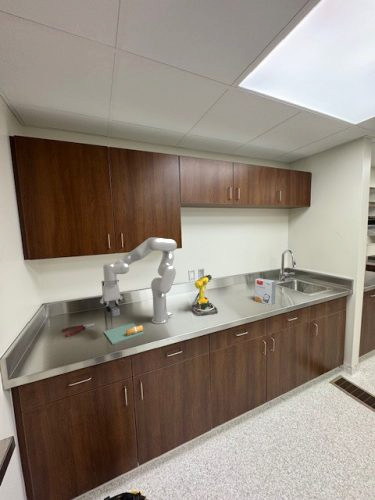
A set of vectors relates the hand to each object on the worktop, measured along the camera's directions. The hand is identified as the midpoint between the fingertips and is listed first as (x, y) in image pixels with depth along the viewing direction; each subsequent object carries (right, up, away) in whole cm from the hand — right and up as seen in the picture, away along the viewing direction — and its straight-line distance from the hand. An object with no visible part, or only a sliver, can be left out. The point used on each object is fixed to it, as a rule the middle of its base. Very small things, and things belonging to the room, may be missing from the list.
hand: (112, 310), depth 135 cm
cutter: (+1, -1, -2) cm, 2 cm away
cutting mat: (+7, -15, +1) cm, 17 cm away
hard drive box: (+116, -7, +49) cm, 126 cm away
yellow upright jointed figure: (+63, -10, +35) cm, 72 cm away
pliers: (-25, -16, +7) cm, 31 cm away
